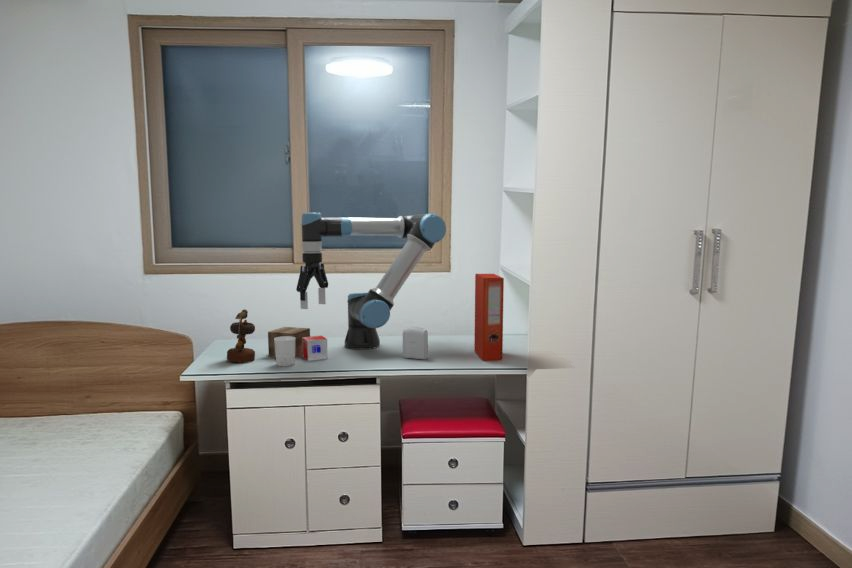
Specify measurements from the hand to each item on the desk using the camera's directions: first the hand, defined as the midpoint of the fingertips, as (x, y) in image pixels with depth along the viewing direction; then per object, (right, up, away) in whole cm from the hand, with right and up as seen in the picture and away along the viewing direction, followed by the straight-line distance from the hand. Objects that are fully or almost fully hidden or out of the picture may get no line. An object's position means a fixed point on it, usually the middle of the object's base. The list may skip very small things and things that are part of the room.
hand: (313, 306), depth 251 cm
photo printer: (+40, -20, 0) cm, 45 cm away
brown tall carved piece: (-28, -21, -1) cm, 35 cm away
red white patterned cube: (0, -21, +2) cm, 21 cm away
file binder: (+69, -20, +3) cm, 72 cm away
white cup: (-9, -22, -9) cm, 25 cm away
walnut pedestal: (-11, -20, +8) cm, 24 cm away
